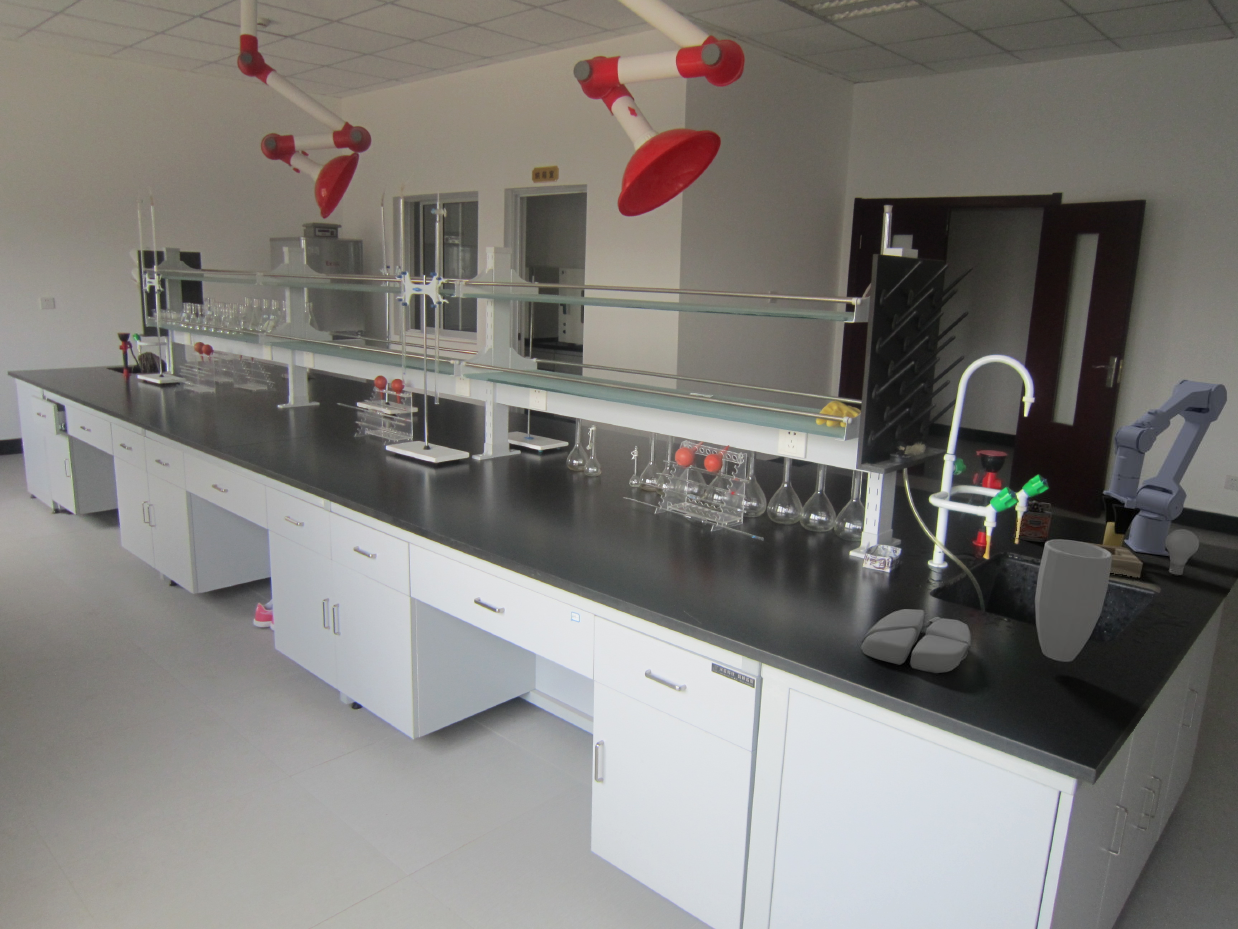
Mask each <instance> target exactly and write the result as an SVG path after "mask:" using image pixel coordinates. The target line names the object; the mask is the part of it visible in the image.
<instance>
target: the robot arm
mask: <svg viewBox="0 0 1238 929" xmlns="http://www.w3.org/2000/svg"><path fill="white" fill-rule="evenodd" d="M1227 401H1228V391H1227V388H1226V386H1225V385H1224V384H1223V383H1208V382H1201V381H1194V380H1188V379H1181V380H1180V381H1178V383H1177V384H1176V385H1174V387H1173V390H1172V395H1171V396H1170V397H1169V398H1168V399H1167V400H1166V401H1165V402H1164V403H1163V404H1162V405H1161V406H1160V407H1158V408H1151V409H1149V410H1147V412H1145V413H1144V414H1142V415H1141V416H1140V417H1139V418H1138V419H1136V421H1134V422H1132V423H1131V424H1130V425H1127V424H1125V425H1124V426H1121V427H1120V428H1119V427H1118V428H1119V429H1118V430H1117V431H1116V433H1115V434H1114V436H1113V445H1114V451H1113V452H1114V455H1115V460H1114V466H1113V470H1112V476H1111V480H1110V485H1109V488H1108V490H1103V492H1102V494H1104V495H1102V496H1101V498H1102V502H1103V506H1104V510H1105V511H1104V513H1105V514H1104V515H1105V519H1104V520H1105V525H1106V526H1107V522H1115V525H1114V531H1115V534H1122V535H1124V536H1125V535H1126V534H1127V531H1128V530H1129V529H1130V530H1129V536H1128V539H1123V542H1124V543H1126V545H1127V546H1128V547H1129V548H1130V549H1131V550H1133V552H1137V553H1141V554H1142V553H1143V554H1151V555H1157V556H1158V555H1159V556H1164V557H1165V556H1166V557H1170V554H1169V551H1168V550H1166V538H1167V536H1168V535H1169V531H1170V528H1171V522H1172V521H1173V520H1175V519H1177V518H1178V517H1179V516H1180V515H1181V514H1182V512H1183V509H1184V504H1185V501H1186V498H1187V493H1186V491H1185V489H1184V488H1183V487H1182V486H1181V484H1180V483H1181V482H1182V480H1183V478H1184V477H1185V474H1186V472H1187V470H1188V468H1189V466H1190V464H1191V462H1192V460H1193V459H1194V456H1195V455H1196V453H1197V451H1198V449H1199V448H1200V445H1201V443H1202V441H1203V439H1204V437H1205V435H1206V434H1207V432H1208V430H1209V428H1210V426H1211V424H1212V423H1213V422H1215V421H1217V420H1218V419H1219V416H1220V415H1221V413H1222V411H1223V409H1224V407H1225V406H1226V404H1227ZM1178 415H1180V417H1182V418H1183V419H1184V422H1183V424H1182V426H1181V428H1180V430H1179V432H1178V434H1177V436H1176V438H1175V440H1174V442H1173V443H1172V446H1171V448H1170V450H1169V452H1168V454H1167V455H1166V457H1165V459H1164V461H1163V463H1162V464H1161V467H1160V469H1159V471H1158V473H1157V474H1156V476H1155V475H1154V476H1152V477H1149V478H1146V479H1144V480H1143V481H1142V482H1141V484H1140V480H1141V476H1142V470H1143V467H1144V466H1143V465H1144V461H1145V456H1146V453H1147V452H1149V451H1150V450H1151V449H1152V448H1153V446H1154V443H1155V442H1156V441H1157V437H1158V436H1159V435H1161V434H1162V433H1163V432H1165V431H1166V430H1167V429H1168V428H1169V427H1170V425H1171V420H1172V419H1174V418H1175V417H1177V416H1178ZM1139 484H1140V486H1139ZM1130 525H1131V527H1130Z"/></svg>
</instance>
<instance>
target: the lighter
mask: <svg viewBox="0 0 1238 929" xmlns="http://www.w3.org/2000/svg"><path fill="white" fill-rule="evenodd" d="M1028 502H1029V503H1028V509H1029V512H1027V513H1025V514H1024V515H1023V516H1022V521H1021V527H1020V535H1019V539H1018V540H1023V541H1032V542H1038V543H1039V542H1041V543H1046V542H1047V541H1049V530H1050V525H1051V520H1052V517H1053V514H1054V513H1053V512H1051V511H1047V510H1046V509H1048V510H1049V509H1050V510H1051V507H1052V504H1051V503H1050V502H1049V503H1048V502H1038V501H1036V500H1033V501H1028ZM1017 522H1018V518H1017V520H1016V523H1017ZM1016 531H1017V524H1016V526H1015V531H1014V534H1013V538H1015V537H1016Z"/></svg>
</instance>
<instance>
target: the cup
mask: <svg viewBox="0 0 1238 929" xmlns="http://www.w3.org/2000/svg"><path fill="white" fill-rule="evenodd" d="M1083 542H1084V541H1079V540H1078V541H1077V540H1072V539H1071V540H1070V539H1050V540H1048V541H1047V542H1044V548H1043V552H1042V556H1041V561H1040V564H1039V569H1038V574H1037V581H1036V588H1035V589H1036V590H1035V597H1034V603H1035V604H1034V605H1035V609H1034V610H1035V625H1036V632H1037V637H1038V642H1039V646H1040V648H1041V652H1042V654H1043V655H1044V656H1046V657H1047V658H1049V659H1051V660H1054V661H1058V662H1065V663H1066V662H1069V663H1070V662H1072V661H1074V660H1075V659H1076V657H1077V656H1078V655H1079V654H1080V653H1081V652H1082V650H1083V649H1084V647H1085V645H1086V643H1087V642H1088V640H1089V639H1090V637H1091V635H1092V633H1093V630H1094V629H1095V627H1096V624H1097V623H1098V620H1099V618H1100V616H1101V614H1102V611H1103V610H1102V609H1103V606H1104V603H1105V599H1106V595H1107V590H1108V588H1109V580H1110V575H1111V574H1110V569H1111V562H1112V554H1111V553H1110V552H1109V551H1107V550H1106V549H1103V548H1101V547H1098V546H1095V545H1091V544H1088V543H1089V542H1085V543H1083Z"/></svg>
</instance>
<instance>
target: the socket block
mask: <svg viewBox="0 0 1238 929" xmlns="http://www.w3.org/2000/svg"><path fill="white" fill-rule="evenodd" d="M1082 542H1083V543H1086V541H1085V542H1084V541H1082ZM1087 543H1088V544H1091V545H1095V546H1098V547H1101V548H1103V549H1106V550H1107V551H1109V552H1110V553H1111V554H1112V562H1111V569H1110V573H1114V574H1113V575H1115V574H1123V575H1127V576H1126V577H1130V576H1132V578H1137V577H1138V578H1139V579H1140V578H1141V574H1142V569H1143V564H1144V563H1143V562H1142V561H1141V560H1140V558H1138V557H1137V556H1136V555H1134V553H1133V552H1132V551H1131V550H1130V549H1129V548H1128V547H1123V546H1122V547H1116V546H1109V545H1103V544H1098V543H1094V542H1093V543H1091V542H1087Z"/></svg>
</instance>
